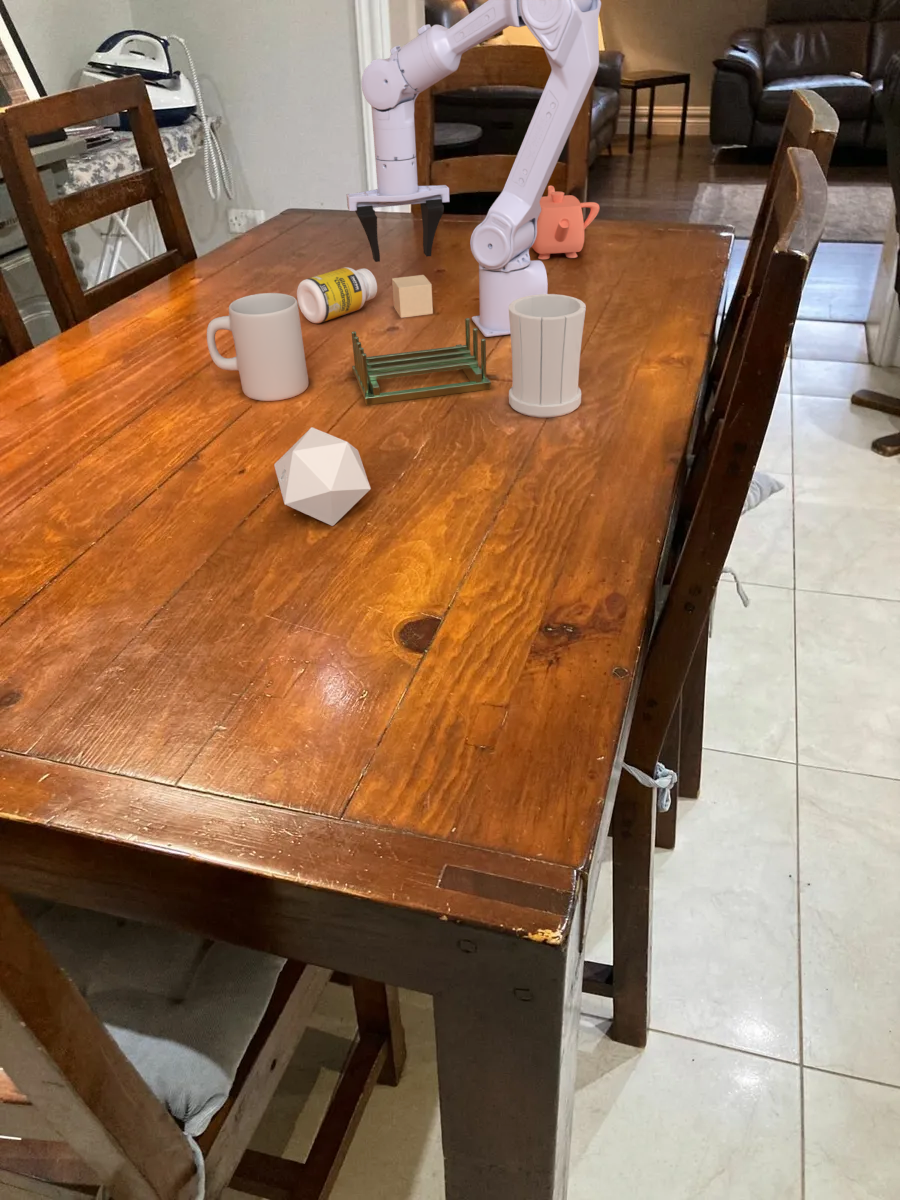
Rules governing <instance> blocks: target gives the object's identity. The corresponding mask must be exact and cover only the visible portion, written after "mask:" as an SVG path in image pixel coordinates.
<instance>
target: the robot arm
mask: <svg viewBox="0 0 900 1200" xmlns="http://www.w3.org/2000/svg"><path fill="white" fill-rule="evenodd" d="M601 7H602V1H601V0H487V1H485V2H484V3H482V4H481V5H479V6H478V7H476V9H474V10H473V11H471V12H470V13H469V14H467V15H466V16H464V17H463V18H462V19H460V20H458V22H456V23H455V24H453V25H452V26H451V27H449V28H448V27H446V26H444V25H440V24H433V25H432V26H431V24H428V23H427V24H424V25H422V26H421V27H419V28H417V34H418V35H417V36H416V37H414V38H413V39H411V40H410V41H408V42H406V43H405V44H404V45H402V46H401V45H395V46H393V47H392V48H390V52H389V53H390V56H389V58H388V57H387V58H376V59H372V61H371V62H370V63H369V64H368V65H367V66H366V68H365V69H364V71H363V73H362V76H361V91H362V94H363V97H364V99H365V101H366V102H367V103H368V104H369V105H370V106H371V120H372V121H371V122H372V132H373V145H374V146H373V148H374V160H375V171H376V185H377V188H376V189H370V190H365V191H360V192H353V193H347V194H346V205H347V206H346V207H347V210H348V211H349V212H355V213H356V216H357V219H358V220H359V222H360V223H361V226H362V228H363V230H364V232H365V235H366V238H367V240H368V243H369V246H370V249H371V250H370V251H371V255H372V259H373V261H374V263H380V262H381V254H380V246H379V240H378V238H379V237H378V216H377V215H376V211H375V208H388V207H397V206H398V207H399V206H407V205H418V204H419V205H420V213H421V221H422V247H423V254H424V255H425V256H426V257H432V250H433V245H434V239H435V235H436V231H437V229H438V226H439V223H440V221H441V218H442V216H443V214H444V211H445V206H444V204H443V203H450V187H449V186H447V185H446V184H439V185H419V184H418V183H419V181H418V164H417V163H418V162H417V145H416V125H415V102H416V99H417V98H418V96H419V94H420V93H422V92H424V91H425V90H427V89H429V88H430V87H432V86H433V85H435V84H437V83H438V82H440V81H441V80H444V79H445V78H446V77H448V76H450V75H451V74H453V73H454V72H457V70H458V69H459V66H460V63H461V59H462V55H463V54H464V53H465V52H467V51H469V50H471V49H473V48H474V47H476V46H478V45H479V44H481V43H483V42H485V41H486V40H488V39H490V38H492V37H493V36H495V35H497V34H498V33H500V32H502V31H504V30H505V29H507V28H508V27H514V28H522V27H527V29H528V30H529V32H530V33H531V34H532V35H533V37H534V38H535V39H536V41H537V42H538V43H539V45H540V46H541V47H542V49H544V52H545V53H544V54H545V55H546V57H547V60H548V63H549V66H550V69H551V71H550V74H549V76H548V79H547V81H546V84H545V86H544V88H543V91H542V94H541V96H540V98H539V101H538V103H537V106H536V108H535V111H534V112H533V116H532V118H531V120H530V123H529V125H528V128H527V130H526V132H525V135H524V138H523V140H522V142H521V145H520V148H519V150H518V152H517V154H516V157H515V159H514V162H513V164H512V167H511V170H510V172H509V174H508V177H507V179H506V181H505V184H504V186H503V188H502V191H501V192H500V194H499V195H498V197H496V199H495V200H494V202H493V203H492V204H491V206H490V208H489V209H488V211H487V213H486V216H485V218H484V219H483V220H482V221H481V222H480V223H478V224H477V225H476V227H475V228H474V229H473V231H472V233H471V235H470V241H469V244H470V251H471V253H472V256H473V258H474V260H476V262H477V263H478V296H479V298H478V299H479V304H478V305H479V315H474V316H472V317H471V321H473V323H474V325H475V326H476V328H477V329H478V330H479V331H480V332H481V333H482V335H483V336H484V337H486V338H490V337H498V336H499V337H500V336H506V335H511V333H510V320H509V305H510V304H511V303H512V302H513V301H514V300H517V299H519V298H522V297H526V296H530V295H539V294H549V293H548V290H549V289H548V287H549V285H548V282H549V281H548V275H547V268H546V266H545V264H544V262H543V261H542V260H540V259H536V260H531V257H530V249H531V248H532V245H533V244H534V242H535V240H536V236H537V220H538V217H539V215H540V212H541V206H540V199H541V197H543V194H544V192H545V190H546V188H547V187H548V183H549V181H550V179H551V177H552V174H553V172H554V170H555V167H556V165H557V163H558V161H559V159H560V156H561V154H562V152H563V150H564V147H565V145H566V143H567V141H568V138H569V136H570V134H571V131H572V129H573V127H574V125H575V122H576V120H577V119H578V115H579V113H580V111H581V109H582V107H583V104H584V102H585V100H586V98H587V95H588V93H589V90H590V88H591V87H592V84H593V81H594V79H595V77H596V75H597V72H598V69H599V65H600V51H599V50H600V48H599V47H600V46H599V45H600V44H599V39H600V38H599V15H600V12H601Z"/></svg>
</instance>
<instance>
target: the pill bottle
mask: <svg viewBox="0 0 900 1200" xmlns="http://www.w3.org/2000/svg"><path fill="white" fill-rule="evenodd" d="M377 292H378V283H377V279H376V277H375V275H374V274H373V272H372V271H370V270H369V269H368V268H366V267H365V268H359V269H356V270H355V269H354V268H352V267H348V266H347V267H345V266H344V267H341V268H337V269H334V270H331V271H329V272H325V273H321V274H318V275H314V276H312V277H308V278H306V279H303V280H302V281H301V282H300V283H299V284H298V286H297V289H296V300H297V303H298V308H299V311H301V313H302V315H303V316H304V317H305V319H306V320H308V321H309V322H310V323H312V324H321V323H324V322H327V321H330V320H334V319H336V318H339V317H341V316H345V315H347V314H351V313H354V312H356V311H359V310H361V309H362V308H363V306H364V305H365V303H366V302H367V301H371V300H373V299H374V298H376V295H377Z"/></svg>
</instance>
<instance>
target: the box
mask: <svg viewBox="0 0 900 1200" xmlns="http://www.w3.org/2000/svg"><path fill="white" fill-rule="evenodd" d="M391 284H392V287H391V288H392V299H393V300H392V301H393V308H394V310H395V311H396V313H397V314H398V316H399V317H400V319H403V318H412V317H419V316H420V317H421V316H427V315H433V314H434V309H433V288H432V287H433V286H432V285H433V284H432V283H431V282H430V280H429V279H428V278H427V277H426V276H425V274H418V275H409V276H401V277H392V278H391Z"/></svg>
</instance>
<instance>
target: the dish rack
mask: <svg viewBox="0 0 900 1200" xmlns="http://www.w3.org/2000/svg"><path fill="white" fill-rule="evenodd" d="M464 327H465V331H464V332H465V334H464V335H465V344H461V343H460V344H455V345H454V346H453V345H452V346H445V347H437V348H428V349H422V350H414V351H413V350H412V351H405V352H396V353H388V354H379V355H371V356H367V353H365V349H364V347H362V341H360V338H359V336H357V331H354V330H353V331H351V342H352V352H353V361H354V365H351V368H352V369H351V370H352V374H353V376H354V378H355V380H356V382H357V385H358V387H359V390H360V392H361V394H362V396H363V397H362V398H363V399H364V404H365V406H371V405H373V406H374V405H380V404H387V403H394V402H395V403H396V402H402V401H409V400H416V399H417V400H418V399H426V398H433V397H441V396H450V395H455V394H463V393H464V394H465V393H471V392H479V391H480V392H481V391H487V390H491V389H492V381H491V380H490V379H489V378H488V377H487V342H486V341H487V339H485V338H482V339H480V361H481V362H480V364H481V367H480V366H479V338H478V336H479V335H478V330H479V328H478V327H473V328H472V351H473V352H472V354H473V355H472V354H471V319H470V318H469V317H466V318H465V319H464ZM458 370H462V371H463V373H464V374H465V376H466V377H467V379H468V380H469V381H463V382H456V383H448V384H440V385H432V386H424V387H417V388H408V389H400V390H392V391H384V392H381V389H380V385H379V383H378V381H379V380H387V379H395V378H403V377H404V378H405V377H411V376H418V375H427V374H434V373H442V372H443V373H444V372H450V371H451V372H452V371H458Z"/></svg>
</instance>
